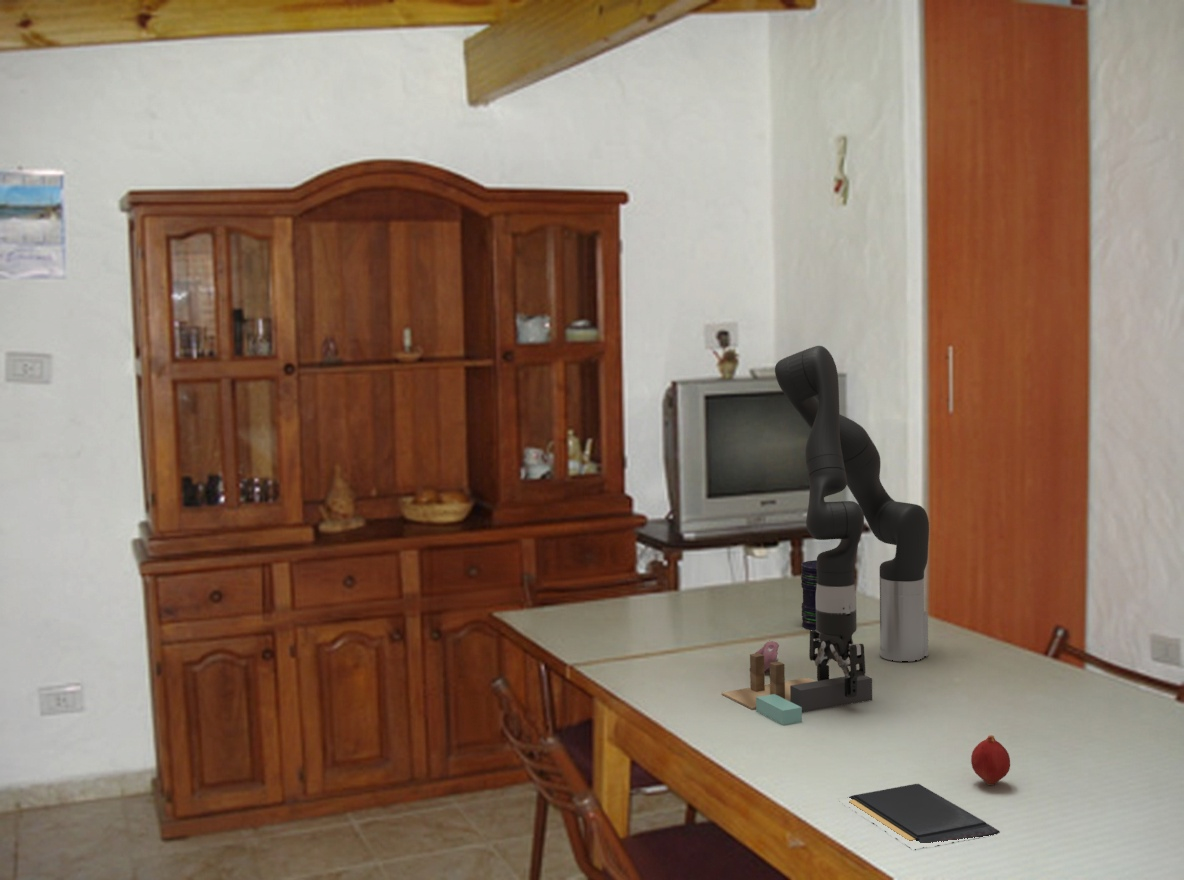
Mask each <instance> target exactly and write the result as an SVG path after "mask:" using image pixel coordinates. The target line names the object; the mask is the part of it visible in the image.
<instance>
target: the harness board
mask: <svg viewBox="0 0 1184 880" xmlns="http://www.w3.org/2000/svg"><path fill="white" fill-rule="evenodd" d="M755 653H756V652H755ZM755 653H752V654H749V674H750V675H749V676H750V677H749V679H750V684H749V685H750V687H747V688H741V689H735V690H729V691H724V692H721V696H724V697H726V698H727V697H728V698H727V699H730V700H731V701H734V702H736V703H737V704H740V705H741V706H743V707H745V708H748V709H750V710H751V711H754V710H755V711H756V697H760V696H766V695H771V694H775V695H778V696H780V697H782V698H784V699H786V700H788V701H790V702H791V700H790V686H791V685H797V684H802V683H808V682H814V681H815V680H814V679H812V678H810V677H802V678H801V677H800V678H797V679H792V680H791V679H789V680H786V679H785V677H786V676H785V663H784V662H781V661H778V662H773V663H770V669H769V684H765V682H766V681H765V674H766V673H765V671H764V655H762V654H760V653H756V654H755Z"/></svg>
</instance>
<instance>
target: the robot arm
mask: <svg viewBox="0 0 1184 880" xmlns="http://www.w3.org/2000/svg"><path fill="white" fill-rule="evenodd" d="M774 373H775V374H774V375H775V378H776V381H777V384H778V386H779V388H780V389H781V392H782V393H783V394H784V396H785V397H786V399H787V400H788V401H789V403H790V404H791V405H792V407H793V408H794V410H796V412H797V413H798V414H799V416H800V417H801V418H802V419H803V421H804V422H805V423H806V425H807V426H808V427H809V428H810V433H809V435H808V437H807V441H806V445H805V450H804V451H805V457H804V458H805V465H806V470H807V476H808V481H809V482H808V483H809V497H808V505H807V511H806V512H807V513H806V520H805V521H806V523H805V524H806V529H807V531H808V533H809V535H810V536H811V537H812V538H814V539H815V540H818V541H827V540H840V542H839V544H838V545H837V546H835V547H834V548H832V549H829V550H825V551H822V552H820V553H819V554H818V555H817V557H816V560H817V588H816V630H812V631H811V630H809V654H808V655H809V656H808V657H809V660H810V661H811V662H812V661H814V664H815V667H816V675H817V676H816V679H817V680H816V681H820V680H826V679H830V665H829V664H830V661H831V660H833V661H834V662H836V664H837V666H838V667H839V668H841V669H842V672H843V675H844V676H845V677H846V678H845V696H846V697H848V698H850V697H855V696H856V694H857V677H858V676H864V675H865V676H866V659H865V646H864V644H863V643H854V641H853V635H854V634H855V632H857V629H858V628H857V592H856V584H855V583H856V581H855V580H856V579H855V578H856V576H855V575H856V574H855V573H856V570H855V566H856V565H855V564H856V557H857V551H858V547H859V543H860V540H861V536H862V533H863V529H864V524H865V521H866V523H867V525H868V527H869V529H870V531H871V532H872V534H873V535H874V537H876V539H877V540H879V541H880V542H881V543H884V544H888V545H894V546H896V547H895V554H894V557H893V558H892V559H890V560H889V559H888V560H886V561H883V562H881V563H880V566H879V655H880V657H881V658H883V659H884V660H888V661H892V660H893V662H902V661H908V662H915V660H917V661H920V659H921V660H923V659H924V658H925V657H924V656H926V657H929V613H928V612H927V611H925V571H926V567H927V564H928V558H929V557H928V556H929V541H930V539H929V538H930V522H929V516H928V514H927V511H926V510H925V508H923V506H921V505H919V504H915V503H910V502H909V503H908V502H903V501H896V500H895V499H893V498H892V497H891V496H890V495H889V493H888V492H887V491H886V489H885V487H884V486H883V484H882V482H881V477H880V476H881V456H880V453H879V450H878V449H877V447H876V445H875V443H874V442H873V440H872V438H871V436H870V435H869V433H868V432H867V431H866V429H865V428H864V427H863V426H862V425H861V424H859V423H857V422H856V421H854V420H853V419H850V418H848V417H847V416H845V415H842V414H840V391H839V390H840V387H839V385H840V384H839V374H838V369H837V365H836V362H835V359H834V358H833V355H832V354H831V352H830V351H829V350H828V349H827V348H826V347H825V346H823V345H815V346H812V347H809V348H806V349H804V350H801V351H798V352H796V353H793V354H791V355H789V356H786V357H784V358H782V359H780V360H779V361H777V362H776V365H775V367H774ZM817 395H818V398H817V397H816V396H817ZM846 488H848V490H850V492H851V494H852V496H853V497H854V499H855V500H856V501H852V500H841V501H825V498H826V497H828V496H829V497H830V496H832V495H835V494H837V493H840V492H843V491H844V490H845V489H846ZM816 649H817V653H816ZM922 658H923V659H922ZM847 659H849V660H847ZM849 667H850V668H849Z"/></svg>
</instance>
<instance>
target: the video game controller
mask: <svg viewBox="0 0 1184 880" xmlns="http://www.w3.org/2000/svg"><path fill="white" fill-rule="evenodd" d="M779 646H780V644H779V643H778V642H776V641H773V640H769V641H767V642H766V643H765V644H764V645H763V646H762V647H761V648H760V649H759V650H757V651H756V652H754V654H756V653H760V654H762V655H764V672H767V673H768V672H770V663H773V662H779V658H778V650H779Z"/></svg>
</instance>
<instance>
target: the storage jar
mask: <svg viewBox="0 0 1184 880" xmlns="http://www.w3.org/2000/svg"><path fill="white" fill-rule="evenodd" d="M800 565H801V574H800V578H801V579H800V580H801V582H800V585H801V588H802V603H801V620H802V624H801V627H802V629H805V630H807V631H811V630H816V588H817V559H816V560H815V559H814V560H807V561H803V562H802V563H801V564H800Z"/></svg>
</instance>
